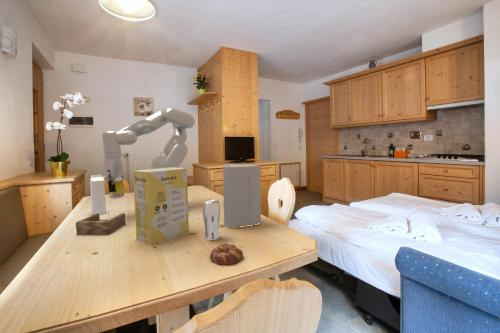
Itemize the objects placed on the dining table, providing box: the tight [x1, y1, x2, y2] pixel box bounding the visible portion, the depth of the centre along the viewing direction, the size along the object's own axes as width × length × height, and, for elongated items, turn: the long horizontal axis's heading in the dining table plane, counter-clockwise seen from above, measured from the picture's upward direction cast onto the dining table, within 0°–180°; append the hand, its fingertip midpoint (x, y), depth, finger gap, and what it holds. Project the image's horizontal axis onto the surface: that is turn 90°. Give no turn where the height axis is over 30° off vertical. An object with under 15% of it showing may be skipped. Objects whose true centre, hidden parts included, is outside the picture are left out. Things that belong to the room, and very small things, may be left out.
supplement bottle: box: [108, 174, 125, 200], centre depth 130 cm, size 7×7×13 cm
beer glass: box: [202, 199, 221, 241], centre depth 103 cm, size 7×7×15 cm
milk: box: [89, 173, 107, 215], centre depth 144 cm, size 6×6×22 cm
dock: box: [75, 213, 126, 236], centre depth 116 cm, size 14×14×6 cm
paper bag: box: [222, 163, 262, 229], centre depth 121 cm, size 19×15×28 cm
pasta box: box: [132, 167, 190, 246], centre depth 106 cm, size 18×10×28 cm, turn 143°
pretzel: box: [209, 243, 244, 265], centre depth 86 cm, size 12×11×4 cm
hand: (116, 190), depth 131 cm, fingers closed on supplement bottle, 6 cm apart
